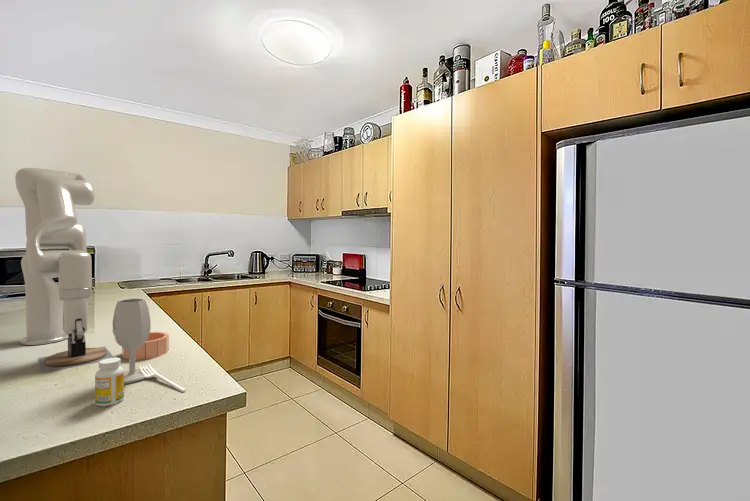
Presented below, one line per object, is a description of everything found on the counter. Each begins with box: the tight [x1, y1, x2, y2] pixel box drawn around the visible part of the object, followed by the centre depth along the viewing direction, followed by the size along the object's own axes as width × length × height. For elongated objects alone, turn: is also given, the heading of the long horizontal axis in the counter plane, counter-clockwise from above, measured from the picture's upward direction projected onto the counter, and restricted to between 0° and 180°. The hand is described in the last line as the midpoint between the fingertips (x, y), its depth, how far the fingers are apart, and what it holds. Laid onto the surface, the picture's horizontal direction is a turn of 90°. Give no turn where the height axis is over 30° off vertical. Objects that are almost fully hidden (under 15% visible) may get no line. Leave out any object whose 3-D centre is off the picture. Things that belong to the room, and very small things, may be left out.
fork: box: [139, 363, 187, 393], centre depth 92 cm, size 3×20×2 cm, turn 58°
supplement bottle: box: [94, 357, 125, 407], centre depth 81 cm, size 5×5×10 cm
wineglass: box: [112, 297, 151, 385], centre depth 94 cm, size 9×9×21 cm
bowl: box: [121, 331, 170, 361], centre depth 112 cm, size 12×12×6 cm
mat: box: [38, 346, 115, 374], centre depth 106 cm, size 16×16×1 cm
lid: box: [45, 338, 106, 367], centre depth 106 cm, size 14×14×6 cm
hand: (76, 352), depth 106 cm, fingers open, 7 cm apart
